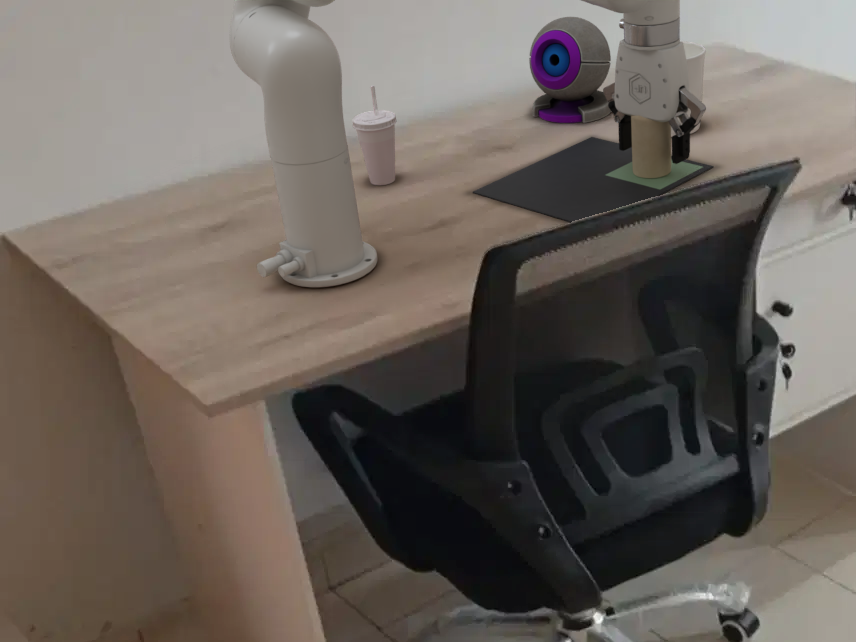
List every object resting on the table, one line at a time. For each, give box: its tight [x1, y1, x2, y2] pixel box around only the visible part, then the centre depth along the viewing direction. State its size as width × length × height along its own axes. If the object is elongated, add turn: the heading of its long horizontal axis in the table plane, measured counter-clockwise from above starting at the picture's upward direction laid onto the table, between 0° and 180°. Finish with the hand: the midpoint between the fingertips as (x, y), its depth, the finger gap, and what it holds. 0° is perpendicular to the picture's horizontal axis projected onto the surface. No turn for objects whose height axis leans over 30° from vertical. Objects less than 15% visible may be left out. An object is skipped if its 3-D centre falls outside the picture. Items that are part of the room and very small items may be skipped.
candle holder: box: [671, 40, 707, 138], centre depth 190 cm, size 10×10×12 cm
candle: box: [631, 116, 672, 178], centre depth 175 cm, size 6×6×10 cm
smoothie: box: [351, 85, 397, 186], centre depth 181 cm, size 6×6×14 cm
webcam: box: [529, 16, 612, 124], centre depth 200 cm, size 13×13×15 cm
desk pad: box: [472, 136, 714, 223], centre depth 178 cm, size 26×23×1 cm
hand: (653, 154), depth 177 cm, fingers open, 9 cm apart
